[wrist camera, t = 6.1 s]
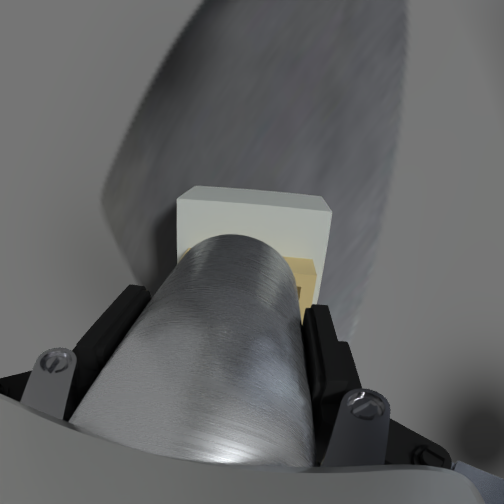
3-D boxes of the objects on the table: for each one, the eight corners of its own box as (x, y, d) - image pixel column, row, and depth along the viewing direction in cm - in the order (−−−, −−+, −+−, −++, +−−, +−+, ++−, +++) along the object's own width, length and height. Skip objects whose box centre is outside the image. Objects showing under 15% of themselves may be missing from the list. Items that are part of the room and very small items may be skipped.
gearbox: (195, 185, 29) (164, 207, 21) (321, 196, 29) (339, 222, 21) (195, 339, 36) (176, 392, 28) (296, 349, 36) (300, 406, 27)
